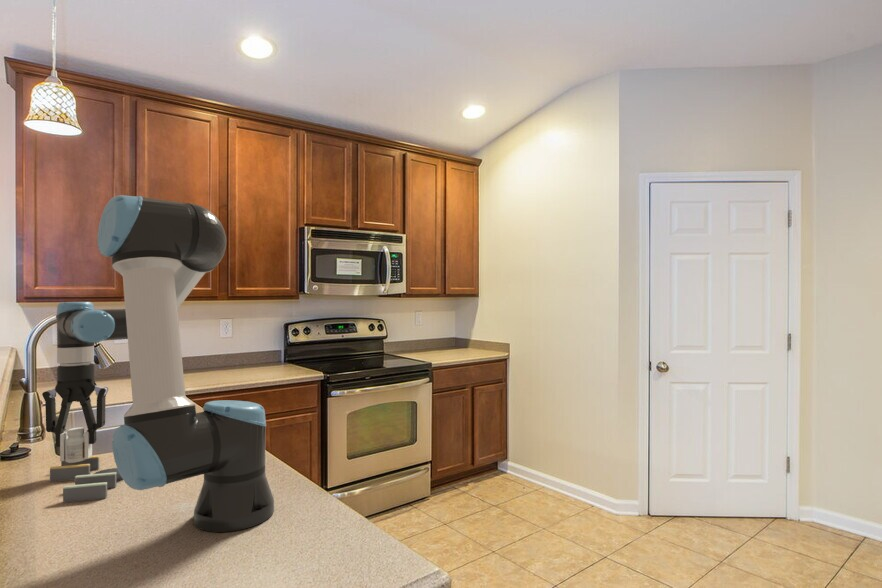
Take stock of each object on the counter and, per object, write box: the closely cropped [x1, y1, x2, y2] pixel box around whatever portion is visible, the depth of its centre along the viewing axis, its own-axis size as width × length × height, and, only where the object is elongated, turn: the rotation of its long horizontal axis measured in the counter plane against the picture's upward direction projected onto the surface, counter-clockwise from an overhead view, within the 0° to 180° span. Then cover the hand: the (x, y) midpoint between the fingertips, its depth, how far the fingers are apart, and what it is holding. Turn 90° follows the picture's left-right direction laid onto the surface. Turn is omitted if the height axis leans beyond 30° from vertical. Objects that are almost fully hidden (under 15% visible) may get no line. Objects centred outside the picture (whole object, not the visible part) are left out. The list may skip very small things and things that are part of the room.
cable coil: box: [93, 467, 124, 484], centre depth 124 cm, size 7×7×2 cm
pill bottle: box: [65, 426, 85, 463], centre depth 126 cm, size 4×4×8 cm
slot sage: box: [62, 472, 117, 503], centre depth 115 cm, size 8×8×3 cm
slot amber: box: [49, 455, 100, 483], centre depth 127 cm, size 8×8×3 cm
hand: (76, 458), depth 126 cm, fingers closed on pill bottle, 4 cm apart
